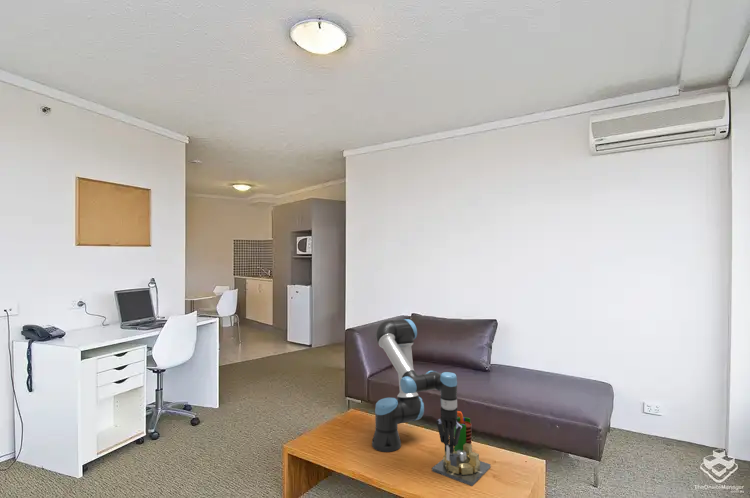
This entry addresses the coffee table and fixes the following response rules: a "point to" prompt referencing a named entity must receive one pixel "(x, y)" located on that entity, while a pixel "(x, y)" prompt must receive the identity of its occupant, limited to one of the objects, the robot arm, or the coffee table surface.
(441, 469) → the flange plate
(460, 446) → the motor
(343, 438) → the coffee table surface
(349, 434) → the coffee table surface
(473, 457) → the ring nut
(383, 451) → the robot arm
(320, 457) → the coffee table surface
